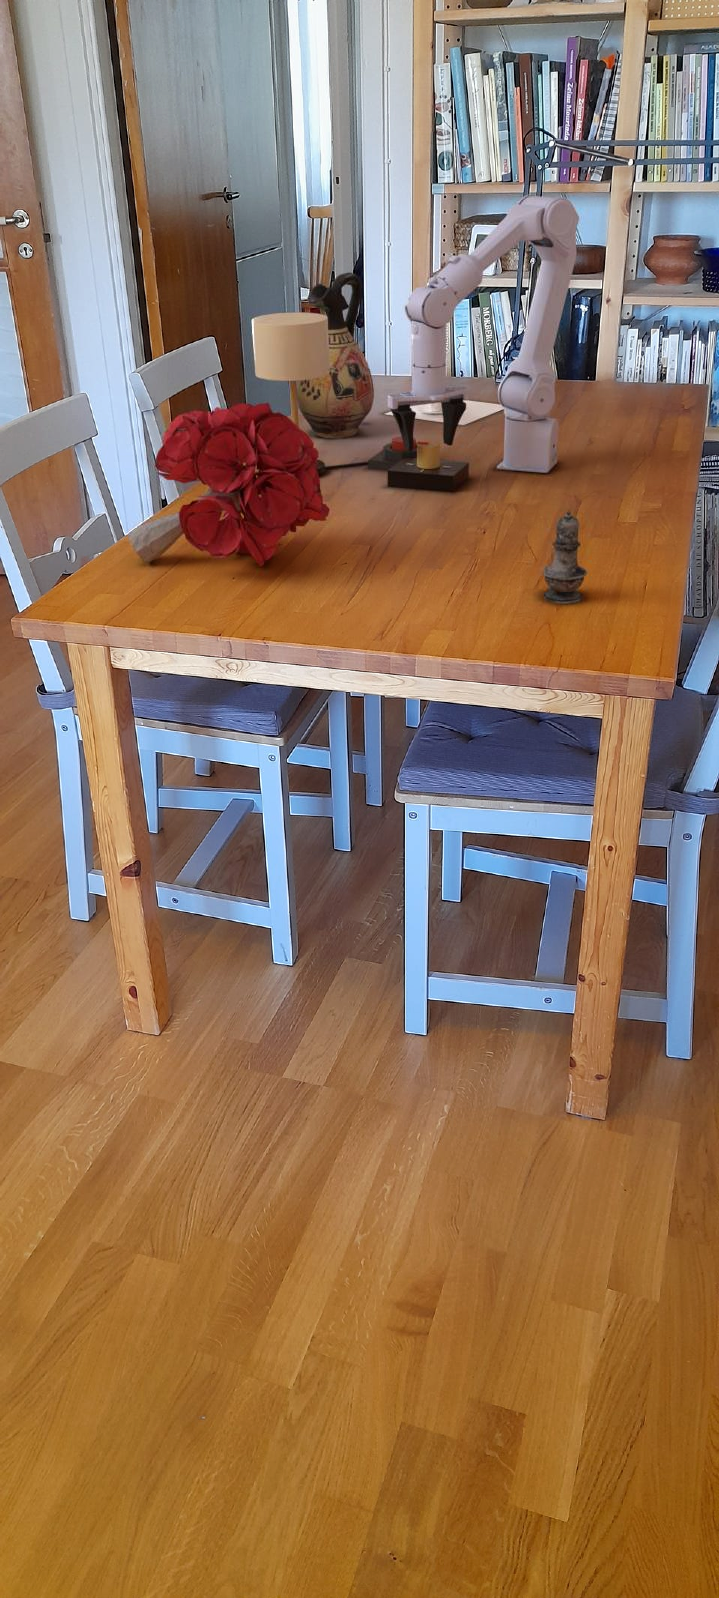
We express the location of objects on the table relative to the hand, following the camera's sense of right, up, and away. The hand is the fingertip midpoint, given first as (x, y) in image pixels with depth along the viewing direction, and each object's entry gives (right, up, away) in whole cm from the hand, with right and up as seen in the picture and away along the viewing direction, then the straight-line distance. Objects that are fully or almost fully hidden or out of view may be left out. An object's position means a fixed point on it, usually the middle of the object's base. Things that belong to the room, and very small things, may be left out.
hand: (428, 446), depth 207 cm
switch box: (-4, 0, +13) cm, 14 cm away
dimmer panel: (0, -5, +3) cm, 6 cm away
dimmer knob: (0, -3, +2) cm, 3 cm away
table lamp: (-20, -1, +12) cm, 23 cm away
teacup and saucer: (+7, +23, +51) cm, 57 cm away
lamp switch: (-4, +3, +12) cm, 13 cm away
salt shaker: (+16, -34, -45) cm, 59 cm away
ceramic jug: (-16, +13, +36) cm, 42 cm away
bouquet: (-31, -25, -29) cm, 49 cm away
